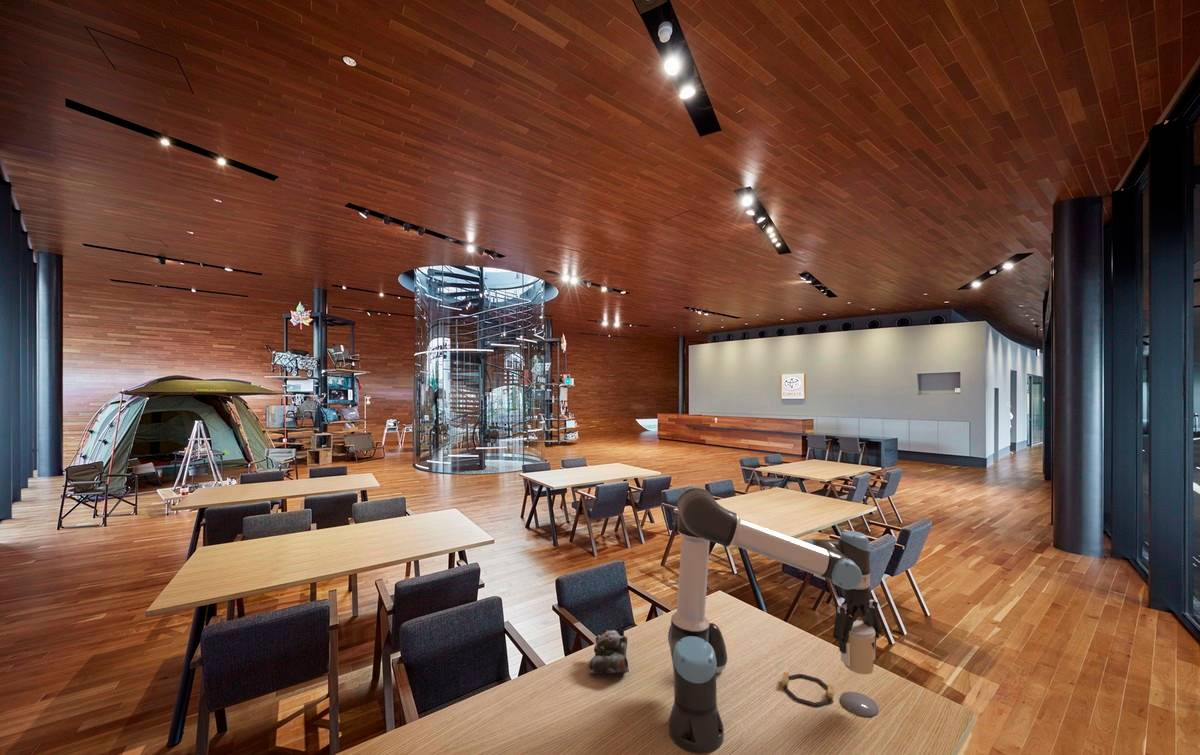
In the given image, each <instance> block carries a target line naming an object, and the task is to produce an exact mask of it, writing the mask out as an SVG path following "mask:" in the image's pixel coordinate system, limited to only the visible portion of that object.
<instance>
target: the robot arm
mask: <svg viewBox="0 0 1200 755" xmlns="http://www.w3.org/2000/svg"><path fill="white" fill-rule="evenodd" d="M676 509H677V511H678V513H677V514H678V515H677V529H676V530H677V532H678V534H679V535H680V536H681V543H680V544H681V545H680V558H679V571H678V572H679V573H678V589H677V603H676V611H675V612H674V613H673V614H672V615H671V617H670V626H669V629H668V635H667V636H668V637H667V640H668V645H669V650H670V657H671V662H672V670H673V683H674V684H673V690H674V691H673V695H674V698H673V699H674V700H673V704H672V708H671V711H670V714H669V717H668V734H669V736H670V738H671V739H672V741H673V742H674V743H675V744H676V745H677V746H678V747H679V748H681V749H683V750H685V751H687V752H691V753H694V754H695V753H696V754H707V753H711V752H715V751H716V750H717V749H719V748H720V747H721V746H722V744H723V742H724V738H725V734H724V730H725V729H724V723H723V721H722V718H721V715H720V711H719V709H718V704H717V696H718V695H717V673H716V666H717V662H716V657H715V652H714V649H713V647H712V646H711V645H710V644H709V643H708V637H709V623H710V621H709V620H708V618H707V617H706V604H707V603H706V602H707V601H706V600H707V589H708V588H707V587H708V586H707V585H708V572H709V570H708V569H709V557H710V544H711V543H710V542H712V543H715V544H718V545H721V546H723V547H725V548H726V547H727V548H729V547H731V546H734V547H737V548H740V549H743V550H745V551H749V552H751V553H755V554H757V555H760V556H762V557H766V558H767V559H771V560H773V561H776V562H779V563H782V564H786V565H788V566H790V567H794V568H796V569H798V570H802V571H805V572H807V573H810V574H813V575H815V576H819V577H821V578H823V579H826V580H829V581H831V582H833V583H834V584H835V585H836V586H837V587H839V588H841V591H842V596H843V599H844V601H843V603H842V605H839V604H836V605H835V616H834V617H835V619H834V626H833V631H832V632H833V633H832V638H833V639H834V640H836V641H837V642H838V649H839V650H838V651H840V662H841V663H843V664H844V663H845V664H846V665H848V666H850V643H848V642H847V641H848V638H849V631H851V629H852V626H853V623H854V622H855V621H856V620H858V619H857V618H861V621H863V623H864V624H866V625H868V626H870V627H871V626H872V627H873V628H874V631H875V646H874V661H875V660H876V646H877V639H879V638H880V634H882V633H883V630H882V625H881V620H880V616H879V612H878V605H879V604H878V602H877V601H876V600H874V599H872V597H871V595H872V594H871V593H872V592H871V587H870V586H871V568H870V563H871V562H870V553H871V549H870V541H869V538H868V536H867V535H866V534H864V533H863V532H859V531H855V530H845V531H842V532H840V537H839V538H836V539H834V538H833V539H832V538H831V539H829V538H827V539H826V538H824V539H823V538H822V539H820V538H816V539H815V538H807V539H802V540H801V539H799V538H796V537H793V536H790V535H787V534H784V533H782V532H779V531H776V530H775V529H771V528H767V527H765V526H762V525H759V524H757V523H754V522H751V521H749V520H748V521H747V520H745V519H743V518H740V517H739V515H738V513H736V512H734V511H731V510H728V509H727V508H725V507H723V506H721V505H720V504H719V503H718V502H717V501H716V500H715V498H714V495H713V494H712V493H711V492H709V491H708V490H706V489H705V488H703V487H701V486H690V487H688V488H685V489H684V490H683V491H681V493H680V494H679V496H678V498H677V502H676ZM843 637H844V638H843ZM845 664H844V665H845Z"/></svg>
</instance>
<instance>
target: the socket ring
mask: <svg viewBox="0 0 1200 755" xmlns="http://www.w3.org/2000/svg"><path fill="white" fill-rule="evenodd" d="M799 678H802V679H806V680H808V681H809V680H810V681H813V682H817V683H818V684H820V685H821V686H822V687H823V688H825V689H826V691H827V692H826V693H827V699H825V700H821V701H817V702H813V701H811V700H807V699H803V698H800V697H797V696H796V694H794V693H793V691H791V690H790V689H789V684H790V683H789V682H790V681H791V680H795V679H799ZM781 688H782V689H783V691H785V693H786V694H788V696H789V697H790V698H792V699H793V701H796V702H797V703H799V704H800V703H801V704H804V705H807V706H811V707H814V708H818V707H823V706H826V705H831V704H832V703H834V701H835V700H834V699H835V697H834V696H835V686H834V685H833V684H830V683H828V684H827V683H825V682H824V681H823V680H822V679H820V678H818V677H814V676H810V675H807V674H803V673H796V674H792V675H790V673H789V672H785V671H783V673H782V678H781Z"/></svg>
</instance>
